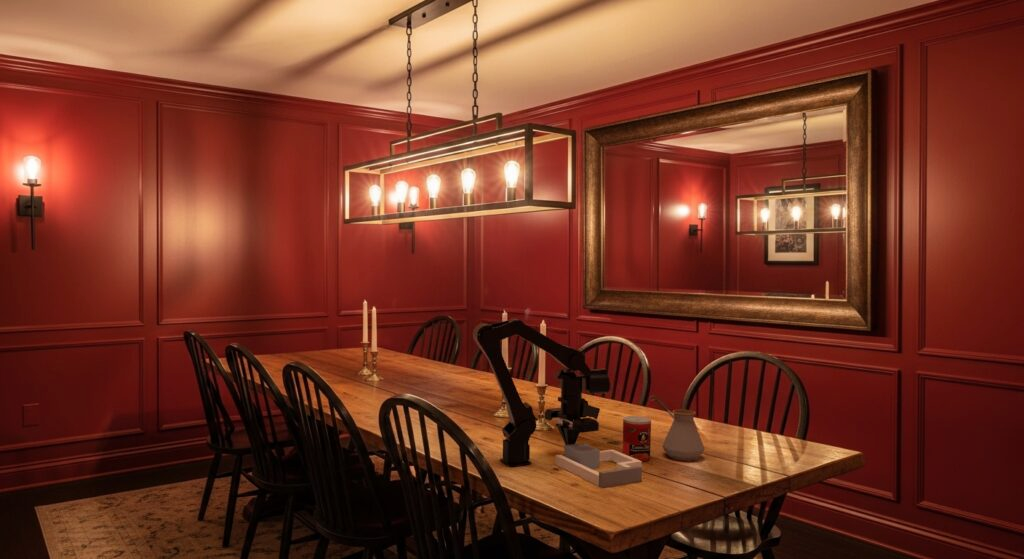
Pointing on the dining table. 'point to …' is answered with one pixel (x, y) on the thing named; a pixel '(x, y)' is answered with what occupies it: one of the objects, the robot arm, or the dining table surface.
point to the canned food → (637, 437)
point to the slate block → (583, 454)
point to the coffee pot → (682, 435)
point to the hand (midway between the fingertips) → (570, 450)
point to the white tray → (623, 474)
